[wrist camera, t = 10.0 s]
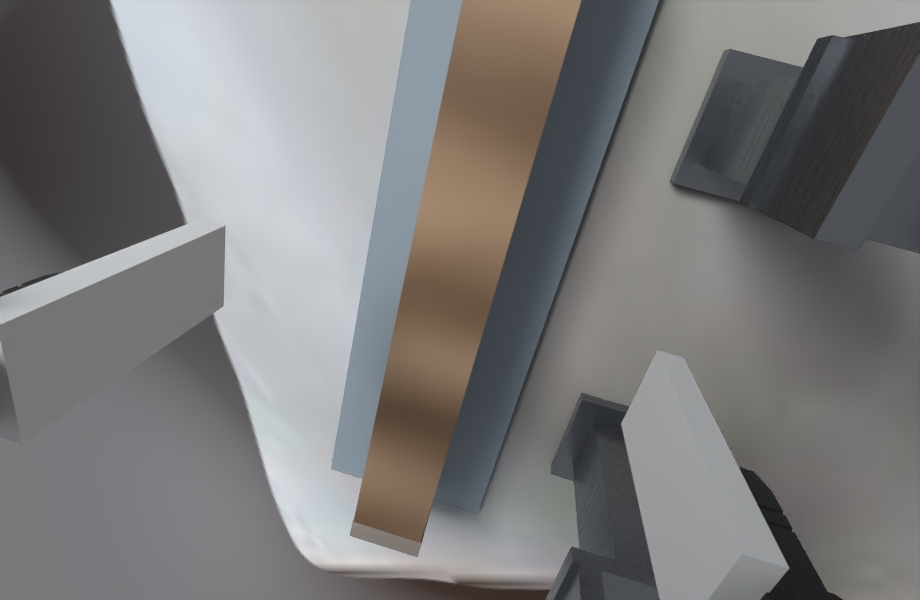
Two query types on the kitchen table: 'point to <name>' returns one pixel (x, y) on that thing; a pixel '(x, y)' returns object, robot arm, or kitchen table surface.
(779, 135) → the post
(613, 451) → the post
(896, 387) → the kitchen table surface
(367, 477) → the rail
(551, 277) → the mat
